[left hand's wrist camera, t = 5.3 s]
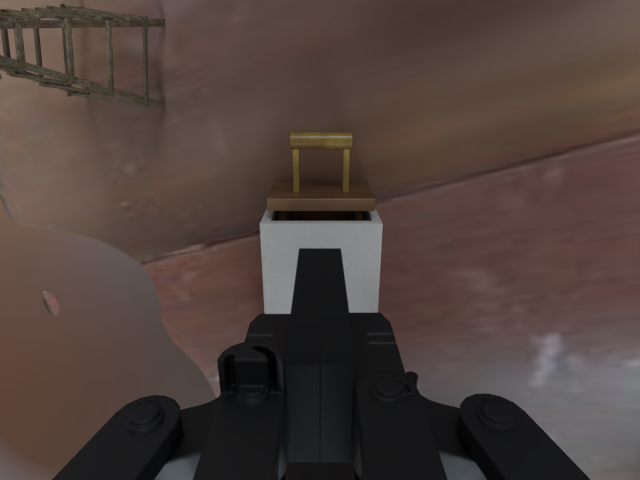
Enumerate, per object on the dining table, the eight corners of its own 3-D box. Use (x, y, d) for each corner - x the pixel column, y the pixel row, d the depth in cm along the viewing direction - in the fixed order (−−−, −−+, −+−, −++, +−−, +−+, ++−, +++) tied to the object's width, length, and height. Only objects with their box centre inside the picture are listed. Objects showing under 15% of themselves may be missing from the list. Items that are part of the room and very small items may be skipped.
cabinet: (270, 198, 46) (259, 223, 37) (371, 198, 46) (382, 223, 37) (277, 346, 53) (268, 395, 44) (364, 346, 53) (373, 395, 44)
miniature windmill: (81, 97, 42) (-404, 112, 14) (75, 4, 39) (-555, -212, 11) (169, 109, 42) (-127, 148, 14) (170, 18, 40) (-202, -156, 11)
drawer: (272, 127, 42) (263, 134, 36) (369, 127, 42) (379, 134, 36) (280, 328, 51) (274, 364, 44) (361, 328, 51) (368, 364, 44)
